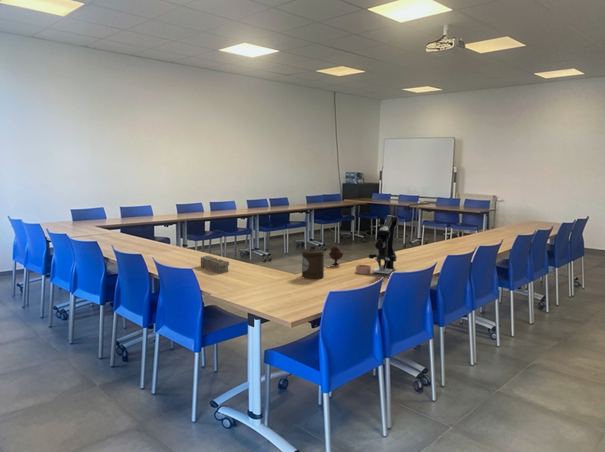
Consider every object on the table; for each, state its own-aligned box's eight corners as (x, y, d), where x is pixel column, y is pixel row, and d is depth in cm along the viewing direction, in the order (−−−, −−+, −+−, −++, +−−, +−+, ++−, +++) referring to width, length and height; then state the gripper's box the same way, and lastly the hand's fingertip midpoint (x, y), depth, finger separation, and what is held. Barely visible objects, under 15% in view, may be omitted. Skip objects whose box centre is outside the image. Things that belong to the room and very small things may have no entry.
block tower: (199, 268, 320) (219, 274, 298) (199, 256, 319) (219, 262, 297) (209, 266, 325) (229, 272, 303) (208, 255, 324) (229, 260, 302)
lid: (375, 268, 313) (376, 263, 313) (392, 270, 308) (392, 265, 308) (371, 271, 302) (371, 266, 302) (388, 273, 297) (388, 268, 297)
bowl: (358, 270, 315) (358, 264, 314) (371, 272, 311) (372, 265, 310) (354, 273, 306) (354, 266, 305) (368, 275, 301) (368, 268, 301)
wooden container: (301, 274, 301) (301, 243, 298) (322, 274, 303) (322, 243, 300) (302, 279, 287) (303, 247, 284) (325, 279, 288) (325, 247, 285)
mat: (374, 270, 315) (374, 270, 315) (393, 273, 309) (393, 272, 309) (369, 275, 302) (369, 274, 302) (389, 277, 297) (389, 276, 296)
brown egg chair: (342, 267, 326) (342, 247, 324) (327, 266, 328) (328, 246, 326) (343, 264, 336) (344, 245, 334) (329, 263, 338) (329, 244, 336)
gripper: (367, 247, 299) (366, 269, 302) (393, 250, 292) (392, 272, 294) (371, 245, 310) (370, 266, 312) (397, 247, 302) (396, 269, 304)
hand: (382, 268), depth 305 cm, fingers closed on lid, 2 cm apart
